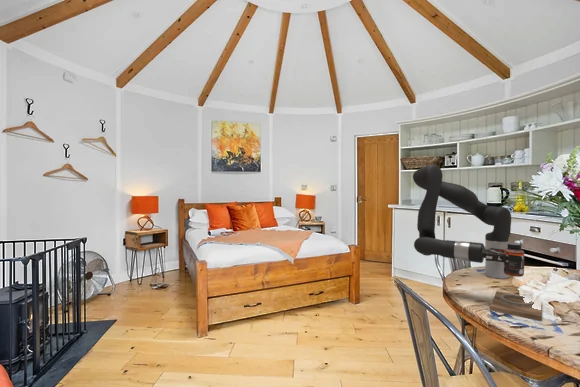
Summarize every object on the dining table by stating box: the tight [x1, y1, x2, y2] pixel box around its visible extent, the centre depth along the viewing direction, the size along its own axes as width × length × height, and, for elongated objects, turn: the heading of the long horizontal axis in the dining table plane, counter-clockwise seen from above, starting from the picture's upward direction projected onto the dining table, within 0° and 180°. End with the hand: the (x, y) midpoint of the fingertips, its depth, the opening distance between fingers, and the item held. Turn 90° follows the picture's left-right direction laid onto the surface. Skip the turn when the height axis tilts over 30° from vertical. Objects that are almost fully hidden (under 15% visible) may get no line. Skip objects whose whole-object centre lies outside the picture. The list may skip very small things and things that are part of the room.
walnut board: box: [489, 290, 543, 322], centre depth 112 cm, size 20×14×3 cm
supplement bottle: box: [504, 242, 525, 278], centre depth 112 cm, size 6×6×11 cm
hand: (522, 257), depth 111 cm, fingers closed on supplement bottle, 6 cm apart
